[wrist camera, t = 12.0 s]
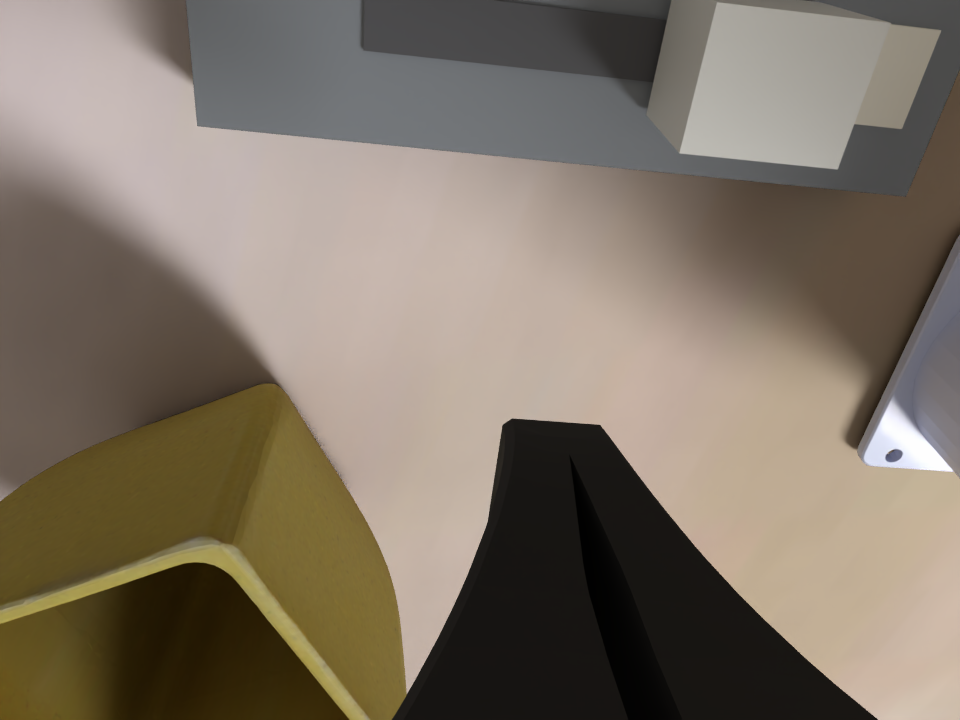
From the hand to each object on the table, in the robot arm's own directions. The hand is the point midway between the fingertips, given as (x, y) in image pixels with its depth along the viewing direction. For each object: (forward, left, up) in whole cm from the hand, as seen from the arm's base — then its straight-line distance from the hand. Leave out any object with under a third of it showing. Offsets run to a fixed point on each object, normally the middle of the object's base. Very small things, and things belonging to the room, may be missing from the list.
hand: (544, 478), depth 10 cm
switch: (-4, -5, -8) cm, 10 cm away
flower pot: (+7, +9, -11) cm, 16 cm away
